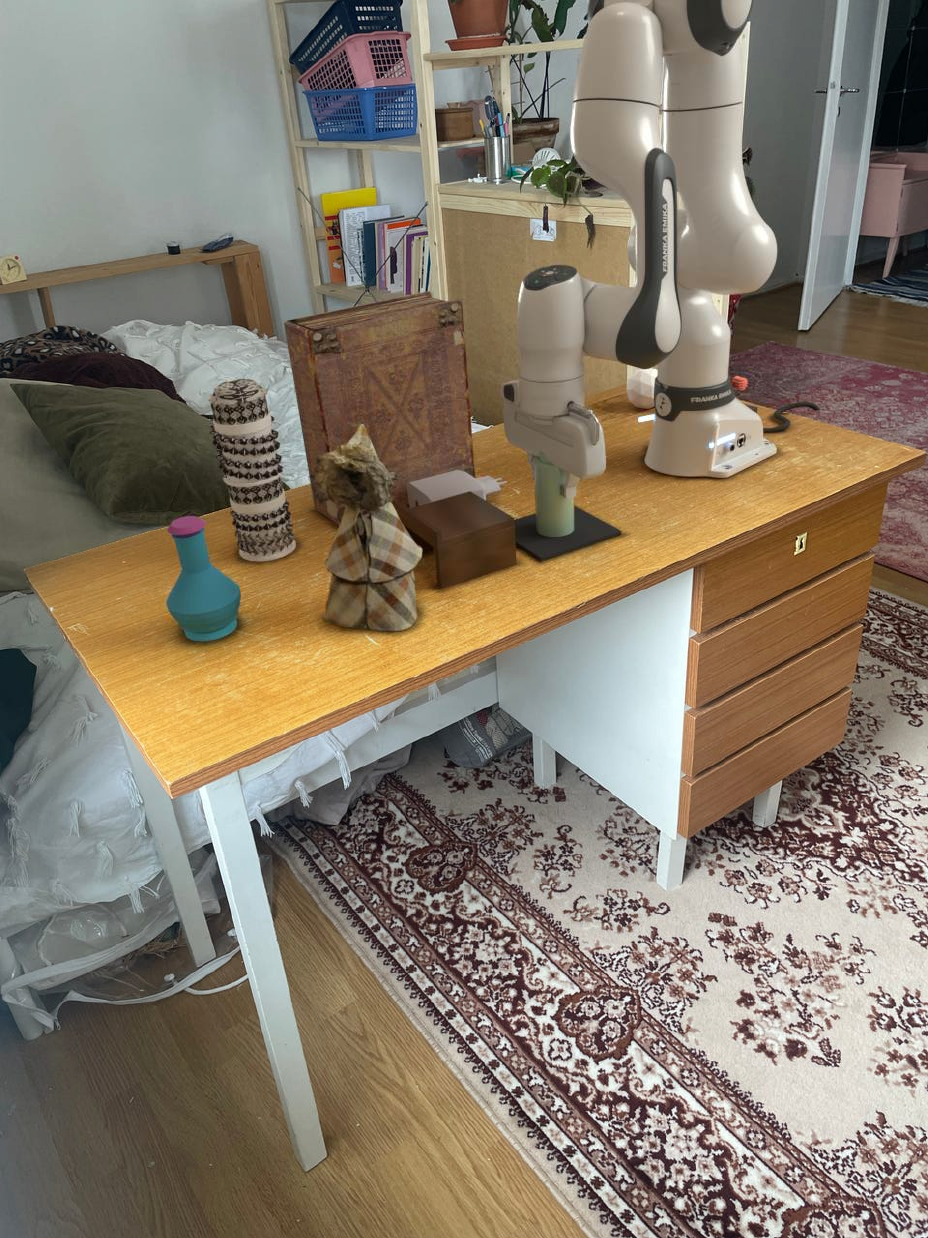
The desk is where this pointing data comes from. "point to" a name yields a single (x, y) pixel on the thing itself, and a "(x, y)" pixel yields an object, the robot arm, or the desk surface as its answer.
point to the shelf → (462, 536)
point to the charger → (450, 487)
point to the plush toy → (366, 541)
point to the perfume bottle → (200, 586)
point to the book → (385, 386)
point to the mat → (549, 547)
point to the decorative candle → (251, 470)
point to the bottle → (551, 500)
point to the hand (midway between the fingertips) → (554, 489)
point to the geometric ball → (642, 388)
